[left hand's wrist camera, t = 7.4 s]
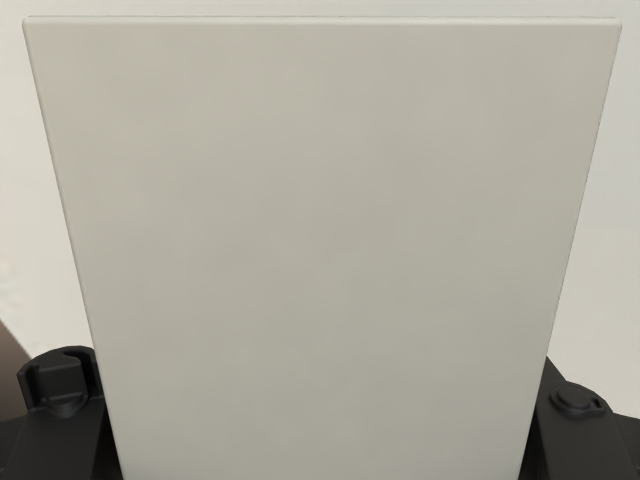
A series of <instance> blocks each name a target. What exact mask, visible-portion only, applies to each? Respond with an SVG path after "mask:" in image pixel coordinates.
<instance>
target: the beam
mask: <svg viewBox="0 0 640 480" xmlns="http://www.w3.org/2000/svg"><path fill="white" fill-rule="evenodd" d="M22 28H23V32H24V37H25V41H26V46H27V50H28V55H29V59H30V64H31V68H32V73H33V77H34V82H35V86H36V91H37V95H38V100H39V104H40V109H41V113H42V118H43V122H44V127H45V131H46V136H47V140H48V144H49V149H50V153H51V158H52V162H53V167H54V171H55V176H56V180H57V185H58V189H59V194H60V198H61V203H62V207H63V212H64V216H65V221H66V225H67V230H68V234H69V239H70V243H71V248H72V252H73V256H74V261H75V265H76V270H77V274H78V279H79V283H80V288H81V292H82V297H83V301H84V306H85V310H86V315H87V319H88V324H89V328H90V333H91V337H92V342H93V346H94V351H95V355H96V360H97V364H98V369H99V373H100V377H101V382H102V386H103V391H104V395H105V400H106V404H107V409H108V413H109V418H110V422H111V427H112V431H113V436H114V440H115V445H116V449H117V454H118V458H119V463H120V467H121V472H122V476H123V480H518V476H519V472H520V468H521V463H522V459H523V455H524V450H525V446H526V442H527V437H528V433H529V429H530V424H531V420H532V416H533V411H534V407H535V403H536V398H537V394H538V390H539V385H540V381H541V377H542V372H543V368H544V363H545V359H546V355H547V350H548V346H549V342H550V337H551V333H552V329H553V324H554V320H555V316H556V311H557V307H558V303H559V298H560V294H561V290H562V285H563V281H564V277H565V272H566V268H567V264H568V259H569V255H570V251H571V246H572V242H573V238H574V233H575V229H576V225H577V220H578V216H579V211H580V207H581V203H582V198H583V194H584V190H585V185H586V181H587V177H588V172H589V168H590V164H591V159H592V155H593V151H594V146H595V142H596V138H597V133H598V129H599V125H600V120H601V116H602V112H603V107H604V103H605V99H606V94H607V90H608V86H609V81H610V77H611V72H612V68H613V64H614V59H615V55H616V51H617V46H618V42H619V38H620V33H621V29H622V22H621V21H620V20H618V19H616V18H614V17H331V16H29V17H27V18H25V19H23V20H22Z"/></svg>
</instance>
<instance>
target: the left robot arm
mask: <svg viewBox="0 0 640 480" xmlns="http://www.w3.org/2000/svg"><path fill="white" fill-rule="evenodd" d="M17 377H18V381H19V384H20V387H21V390H22V394H23V397H24V400H25V403H26V407H27V410H28V412H27V414H26V415H24V416H20V417H16V418H12V419H7V420H3V421H0V480H123V476H122V472H121V467H120V463H119V458H118V454H117V449H116V445H115V440H114V436H113V431H112V427H111V422H110V418H109V413H108V409H107V404H106V400H105V395H104V391H103V386H102V382H101V377H100V373H99V369H98V364H97V360H96V355H95V351H94V350H93V349H92V348H90V347H85V346H66V347H62V348H58V349H54V350H50V351H48V352H46V353H43V354H41V355H39V356H37V357H35V358H34V359H32V360H31V361H29V362H28V363H26V364H25V365H24V366H23V367H22V368H21V369H20V371H19V372H18V373H17ZM518 480H640V419H637V418H632V417H628V416H623V415H620V414H616V413H613V411H612V410H611V408H610V407H609V405H608V404H607V402H606V401H605V400H604V399H602V398H601V397H600V396H599V395H597V394H596V393H595V392H593V391H591V390H589V389H587V388H585V387H583V386H581V385H579V384H576V383H572V382H568V381H566V380H565V379H564V377H563V376H562V375H561V373H560V372H559V371H558V370H557V368H556V367H555V366H554V365H553V363H552V362H551V361H550V359H549V358H548V357H547V356H546V359H545V363H544V368H543V372H542V377H541V381H540V385H539V390H538V394H537V398H536V403H535V407H534V411H533V416H532V420H531V424H530V429H529V433H528V437H527V442H526V446H525V450H524V455H523V459H522V463H521V468H520V472H519V476H518Z"/></svg>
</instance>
